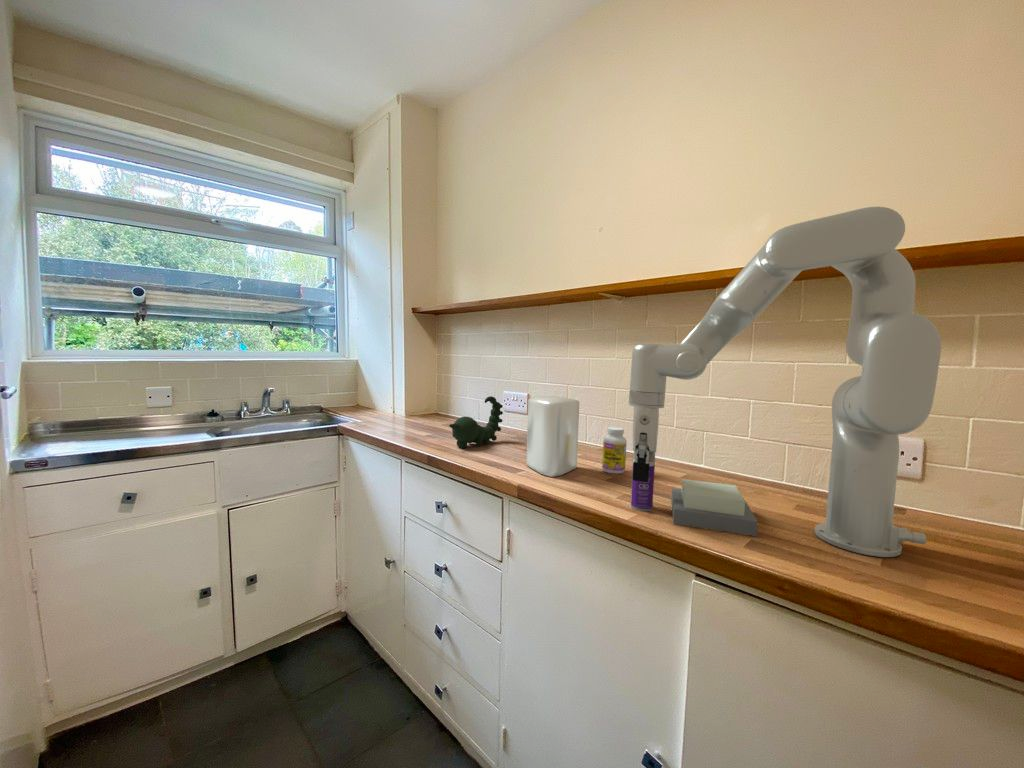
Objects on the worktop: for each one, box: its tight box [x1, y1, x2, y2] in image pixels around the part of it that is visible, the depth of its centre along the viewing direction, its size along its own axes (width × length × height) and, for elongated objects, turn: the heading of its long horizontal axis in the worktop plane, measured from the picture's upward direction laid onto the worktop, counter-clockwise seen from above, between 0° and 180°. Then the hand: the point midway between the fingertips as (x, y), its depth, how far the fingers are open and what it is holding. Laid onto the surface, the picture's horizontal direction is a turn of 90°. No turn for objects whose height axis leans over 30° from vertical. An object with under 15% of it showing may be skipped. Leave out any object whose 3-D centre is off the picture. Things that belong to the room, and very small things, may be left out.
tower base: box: [670, 478, 759, 537], centre depth 88 cm, size 15×15×6 cm
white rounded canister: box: [525, 395, 580, 478], centre depth 120 cm, size 15×14×22 cm
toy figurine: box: [448, 395, 504, 449], centre depth 151 cm, size 9×19×25 cm
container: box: [630, 440, 656, 512], centre depth 92 cm, size 5×5×15 cm
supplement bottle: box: [601, 426, 628, 475], centre depth 122 cm, size 7×7×13 cm
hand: (641, 474), depth 93 cm, fingers open, 9 cm apart
